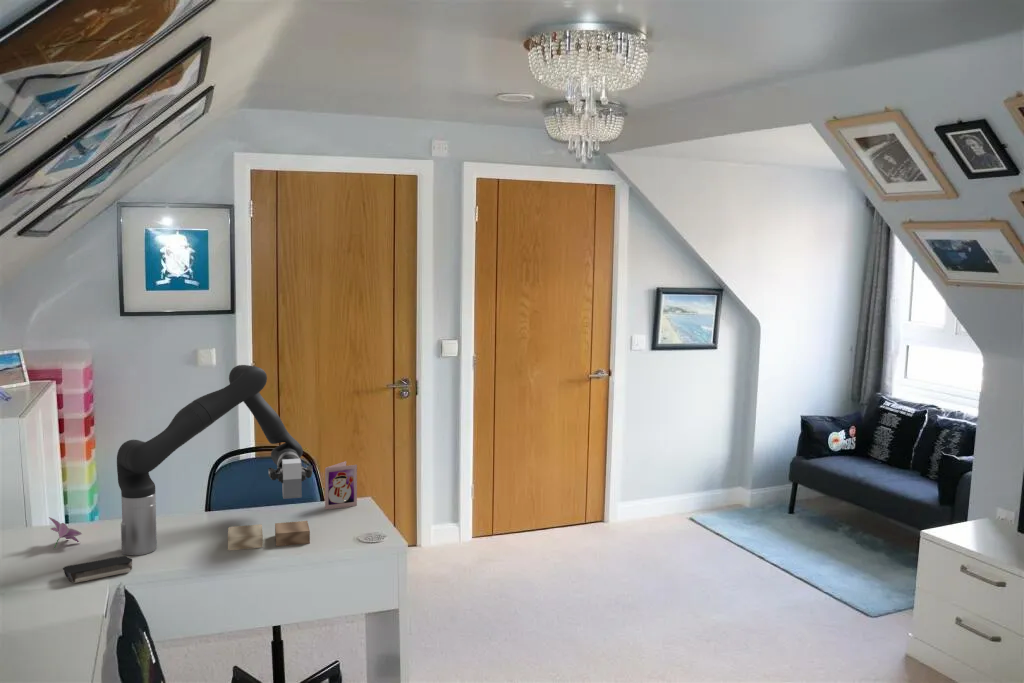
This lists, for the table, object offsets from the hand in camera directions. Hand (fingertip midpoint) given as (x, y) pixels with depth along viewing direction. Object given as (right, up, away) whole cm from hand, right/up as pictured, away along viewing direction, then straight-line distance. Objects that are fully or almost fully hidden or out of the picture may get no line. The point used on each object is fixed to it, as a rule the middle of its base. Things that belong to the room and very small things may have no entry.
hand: (292, 478), depth 248 cm
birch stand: (-14, -20, 0) cm, 25 cm away
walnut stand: (-1, -20, +4) cm, 20 cm away
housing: (-1, -6, +3) cm, 7 cm away
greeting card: (+6, -17, +40) cm, 44 cm away
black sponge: (-46, -23, -26) cm, 58 cm away
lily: (-68, -20, -5) cm, 71 cm away
